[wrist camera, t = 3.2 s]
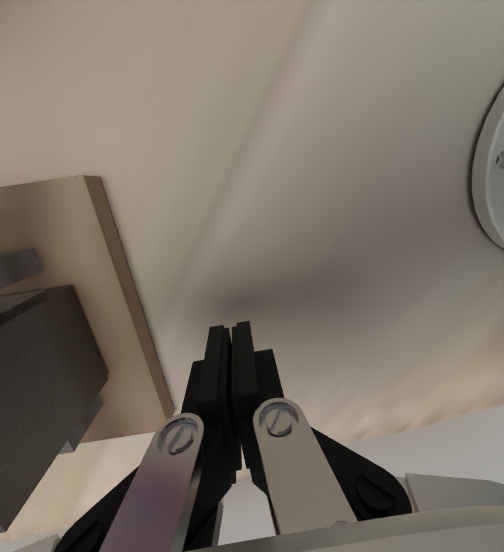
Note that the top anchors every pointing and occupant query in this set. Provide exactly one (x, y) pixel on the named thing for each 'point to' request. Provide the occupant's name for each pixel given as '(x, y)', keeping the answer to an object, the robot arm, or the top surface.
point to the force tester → (86, 295)
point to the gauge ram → (41, 387)
